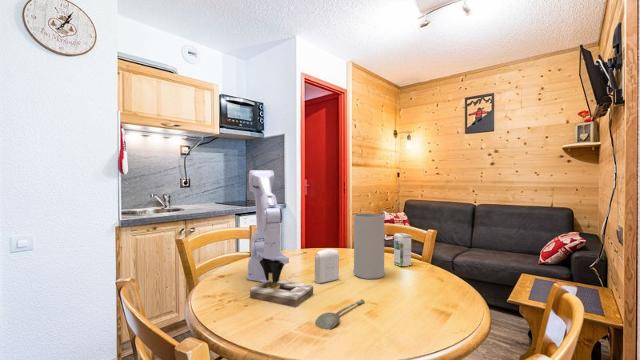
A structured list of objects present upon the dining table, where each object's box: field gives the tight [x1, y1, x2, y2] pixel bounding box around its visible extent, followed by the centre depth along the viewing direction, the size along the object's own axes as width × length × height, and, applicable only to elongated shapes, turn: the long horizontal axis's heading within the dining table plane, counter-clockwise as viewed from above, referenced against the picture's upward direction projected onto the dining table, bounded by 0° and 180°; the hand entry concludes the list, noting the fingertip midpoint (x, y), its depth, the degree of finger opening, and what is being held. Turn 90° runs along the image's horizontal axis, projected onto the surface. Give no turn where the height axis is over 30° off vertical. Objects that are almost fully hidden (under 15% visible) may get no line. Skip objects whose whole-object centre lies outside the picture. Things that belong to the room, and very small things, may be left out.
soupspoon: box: [314, 298, 365, 331], centre depth 92 cm, size 22×3×7 cm
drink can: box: [393, 232, 412, 267], centre depth 143 cm, size 6×6×14 cm
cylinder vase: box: [353, 212, 385, 280], centre depth 129 cm, size 12×12×25 cm
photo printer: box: [314, 248, 340, 284], centre depth 122 cm, size 10×4×12 cm, turn 123°
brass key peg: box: [266, 271, 280, 290], centre depth 109 cm, size 5×5×6 cm
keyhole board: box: [249, 279, 314, 308], centre depth 107 cm, size 18×12×3 cm, turn 64°
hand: (272, 280), depth 108 cm, fingers closed on brass key peg, 3 cm apart
